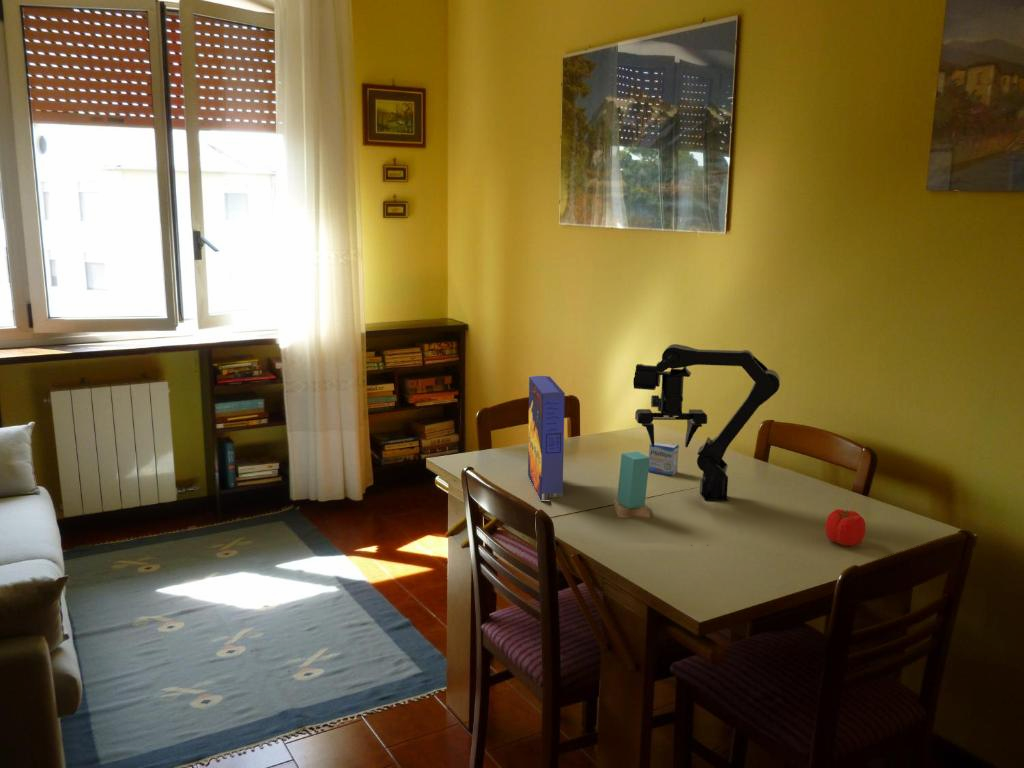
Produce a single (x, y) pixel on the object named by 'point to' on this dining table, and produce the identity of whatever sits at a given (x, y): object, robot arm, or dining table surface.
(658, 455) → the medicine box
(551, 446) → the cereal box
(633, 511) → the top slab
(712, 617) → the dining table surface
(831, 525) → the tomato
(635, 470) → the pillar
